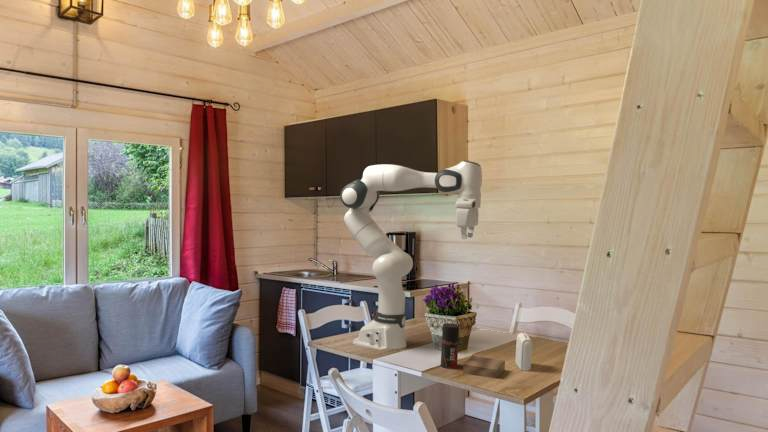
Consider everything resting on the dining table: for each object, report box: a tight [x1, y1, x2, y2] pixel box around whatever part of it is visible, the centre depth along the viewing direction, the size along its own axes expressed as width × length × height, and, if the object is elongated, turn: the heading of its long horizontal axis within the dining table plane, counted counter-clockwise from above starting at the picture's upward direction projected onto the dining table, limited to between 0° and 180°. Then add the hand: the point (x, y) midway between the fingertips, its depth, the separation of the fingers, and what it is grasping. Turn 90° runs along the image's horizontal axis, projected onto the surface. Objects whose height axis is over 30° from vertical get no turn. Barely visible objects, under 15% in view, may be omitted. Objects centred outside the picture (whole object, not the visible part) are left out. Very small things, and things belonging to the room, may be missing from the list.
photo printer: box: [514, 332, 533, 372], centre depth 214 cm, size 10×4×12 cm, turn 179°
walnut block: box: [462, 355, 506, 379], centre depth 206 cm, size 12×12×4 cm
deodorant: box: [440, 322, 460, 370], centre depth 211 cm, size 6×6×15 cm
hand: (467, 238), depth 227 cm, fingers open, 8 cm apart
